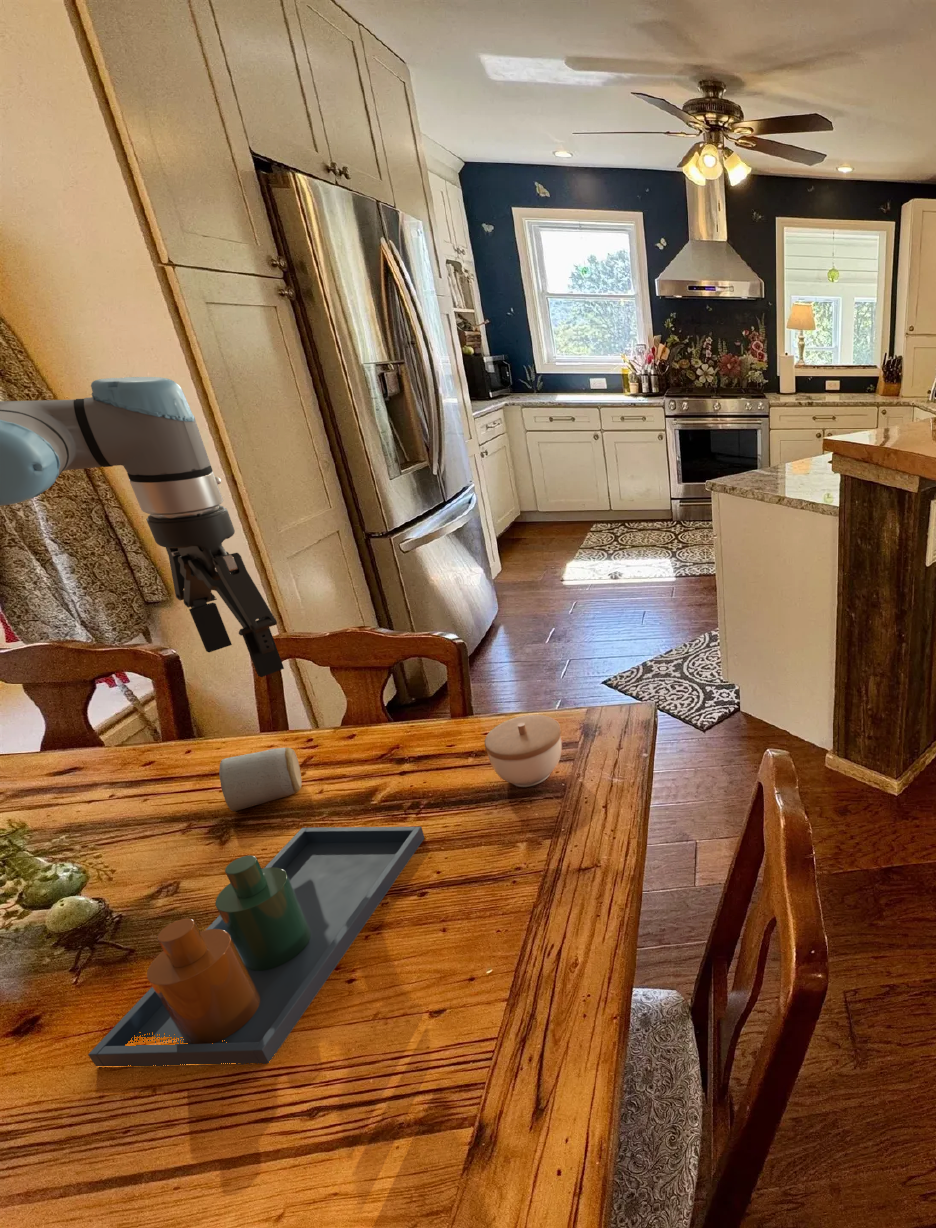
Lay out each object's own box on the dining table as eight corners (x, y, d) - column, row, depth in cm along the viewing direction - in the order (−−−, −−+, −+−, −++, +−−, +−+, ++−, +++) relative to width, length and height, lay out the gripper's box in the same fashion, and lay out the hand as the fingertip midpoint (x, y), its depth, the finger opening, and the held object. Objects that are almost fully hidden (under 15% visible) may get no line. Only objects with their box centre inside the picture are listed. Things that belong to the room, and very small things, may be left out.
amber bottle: (166, 1047, 63) (112, 959, 58) (215, 989, 69) (169, 904, 63) (230, 1045, 64) (182, 957, 58) (274, 987, 69) (233, 903, 64)
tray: (99, 1072, 62) (87, 1055, 61) (307, 842, 88) (301, 827, 87) (270, 1067, 62) (261, 1050, 61) (425, 840, 89) (421, 826, 88)
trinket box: (579, 774, 103) (571, 724, 99) (511, 807, 96) (500, 755, 92) (547, 745, 110) (539, 697, 106) (482, 774, 102) (470, 724, 98)
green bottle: (230, 971, 70) (186, 887, 65) (270, 924, 76) (233, 843, 71) (287, 970, 71) (249, 886, 66) (323, 923, 76) (290, 842, 71)
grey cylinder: (305, 800, 96) (289, 757, 93) (232, 822, 91) (213, 777, 88) (304, 763, 103) (290, 723, 100) (238, 782, 99) (220, 740, 96)
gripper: (275, 518, 79) (325, 670, 87) (175, 489, 89) (230, 629, 98) (198, 534, 73) (261, 696, 81) (101, 501, 83) (166, 649, 92)
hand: (244, 660), depth 90 cm, fingers open, 13 cm apart
